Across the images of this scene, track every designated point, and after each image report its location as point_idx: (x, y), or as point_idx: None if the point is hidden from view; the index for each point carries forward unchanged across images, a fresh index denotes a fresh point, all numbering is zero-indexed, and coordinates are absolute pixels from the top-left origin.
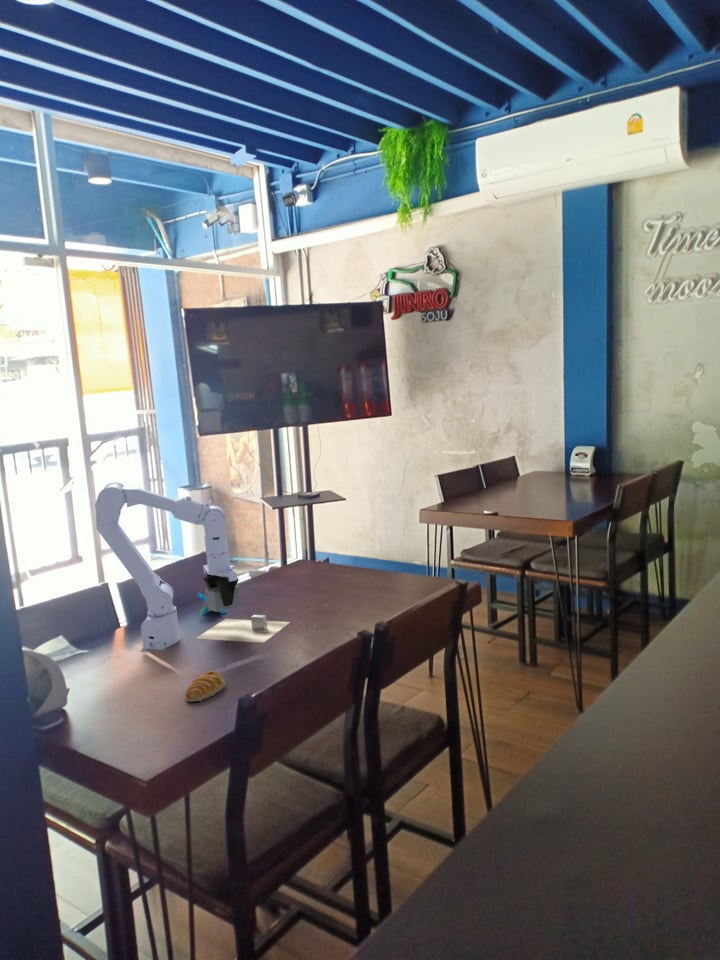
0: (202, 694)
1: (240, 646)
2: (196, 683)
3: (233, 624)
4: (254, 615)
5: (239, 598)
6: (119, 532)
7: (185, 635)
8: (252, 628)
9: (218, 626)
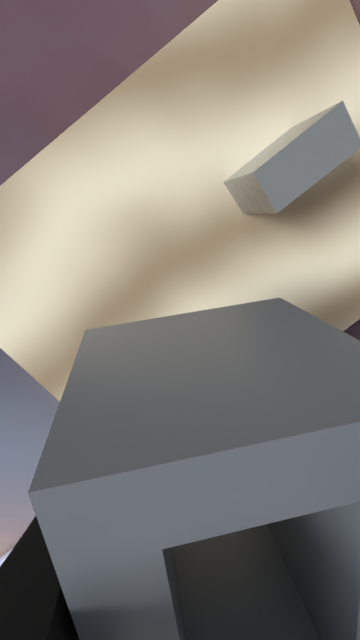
0: None
1: (344, 331)
2: None
3: (69, 266)
4: (271, 176)
5: (317, 318)
6: None
7: (14, 484)
8: (246, 211)
9: (42, 347)
